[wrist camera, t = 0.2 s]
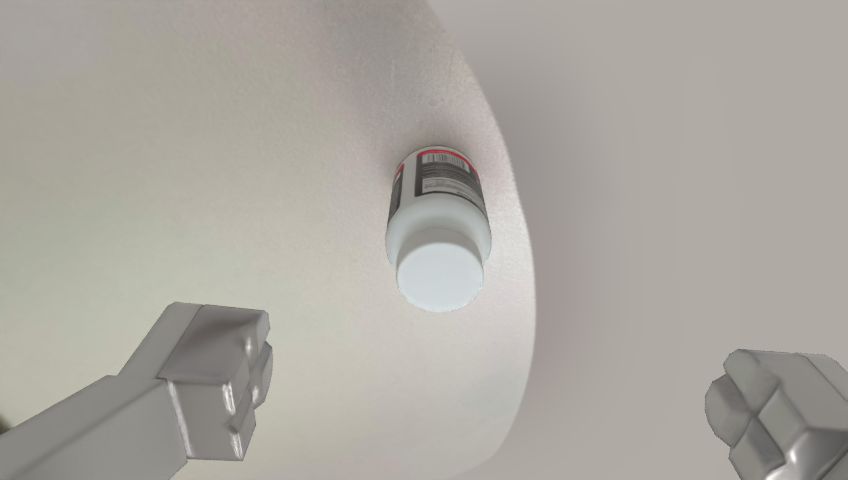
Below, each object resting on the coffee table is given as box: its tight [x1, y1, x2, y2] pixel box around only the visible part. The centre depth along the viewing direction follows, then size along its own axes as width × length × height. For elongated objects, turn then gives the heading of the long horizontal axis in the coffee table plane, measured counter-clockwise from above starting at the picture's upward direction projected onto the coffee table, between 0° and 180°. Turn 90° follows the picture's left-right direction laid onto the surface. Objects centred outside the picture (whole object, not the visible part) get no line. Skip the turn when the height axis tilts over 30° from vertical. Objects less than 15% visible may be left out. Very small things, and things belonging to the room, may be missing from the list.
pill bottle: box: [385, 146, 492, 312], centre depth 26 cm, size 5×5×10 cm
